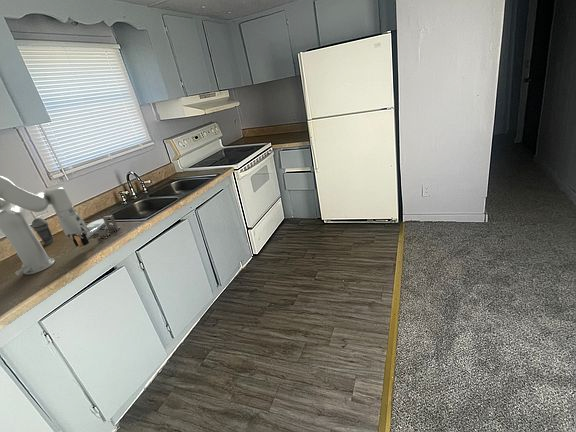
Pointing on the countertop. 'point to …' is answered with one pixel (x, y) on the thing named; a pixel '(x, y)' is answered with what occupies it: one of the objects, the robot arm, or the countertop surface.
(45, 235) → the beverage cup
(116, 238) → the countertop surface
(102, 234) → the cradle
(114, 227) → the eye post
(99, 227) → the hook rod
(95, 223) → the ramekin
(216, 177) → the countertop surface
